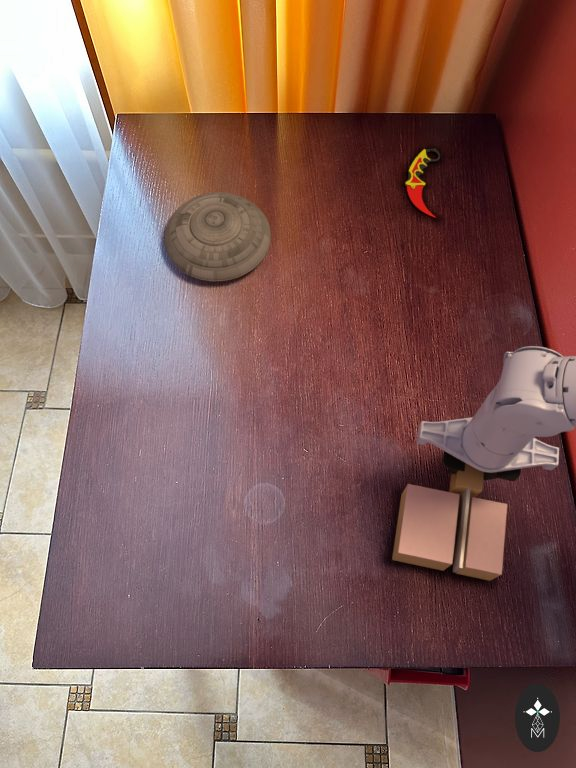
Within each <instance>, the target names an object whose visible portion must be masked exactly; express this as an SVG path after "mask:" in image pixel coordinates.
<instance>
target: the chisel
mask: <svg viewBox="0 0 576 768" xmlns="http://www.w3.org/2000/svg"><path fill="white" fill-rule="evenodd" d="M483 478H484V472H483V471H480V470H478V469H475V468H474V467H472V466H470V465H468V464H467V463H465V471H458V472H457V473H456V474H450V482H449V490H448V492H450V493H455V494H460V499H459V508H458V517H457V527H456V536H455V545H454V554H453V564H452V573H455V574H456V573H457V572H458V571H460V570H461V569H462V568H463V560H464V550H465V540H466V531H467V521H468V511H469V501H470V499H471V498H472V497H475V498H477V497H478V496H479V495H480V494H481V493H482V492H483V489H484V488H483V487H484V480H483Z"/></svg>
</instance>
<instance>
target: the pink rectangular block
mask: <svg viewBox="0 0 576 768" xmlns="http://www.w3.org/2000/svg"><path fill="white" fill-rule="evenodd" d="M460 499H461V496H460V494H455V493H450V492H449V491H446V490H445V491H444V490H439V489H435V488H431V487H425V486H421V485H416V484H411V483H407V485H406V486H405V488H404V490H402V492H401V496H400V502H399V509H398V516H397V523H396V530H395V537H394V542H393V543H394V544H393V551H392V559H391V560H392V561H396V562H400V563H405V564H410V565H415V566H419V567H424V568H427V569H433V570H438V571H441V572H442V571H445V570H446V569H448V568H449V567H450V566H453V564H454V555H455V545H456V536H457V527H458V518H459V508H460Z"/></svg>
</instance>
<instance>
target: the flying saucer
mask: <svg viewBox="0 0 576 768" xmlns="http://www.w3.org/2000/svg"><path fill="white" fill-rule="evenodd" d="M270 225H271V224H270V223H269V220H268V218H267V216H266V215H265V213H264V212H263V211H262V210H261V209H260V207H259V206H257V205H256V204H255V203H254V202H253V201H251V200H249V199H247V198H245V197H243V196H241V195H238V194H234V193H230V192H224V191H223V192H222V191H215V192H208V193H203V194H200V195H196V196H195V197H192V198H190V199H188V200H186V201H185V202H183V203H182V204H181V205H180V206H178V208H177V209H176V210H174V212H173V213H172V214H171V216H170V217H169V219H168V221H167V223H166V226H165V228H164V234H163V243H164V249H165V252H166V255H167V256H168V258H169V260H170V261H171V263H172V264H173V265H174V266H175V267H176V268H177V269H178V270H180V271H181V272H182V273H184V274H186V275H187V276H190V277H192V278H194V279H197V280H201V281H207V282H225V281H230V280H235V279H238V278H240V277H242V276H244V275H246V274H248V273H250V272H251V271H253V270H254V269H255V268H256V267H257V266H258V265H259V264H261V262H262V261H263V260H264V259H265V257H266V255H267V254H268V251H269V249H270V247H271V242H272V231H271V226H270Z"/></svg>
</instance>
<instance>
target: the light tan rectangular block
mask: <svg viewBox="0 0 576 768" xmlns="http://www.w3.org/2000/svg"><path fill="white" fill-rule="evenodd" d="M507 513H508V503H504V502H500V501H495V500H490V499H484V498H479V497H472V498H470V501H469V511H468V521H467V531H466V540H465V550H464V560H463V568H462V569H461V570H460V571H458V572H457V573H455V574H456V575H462V576H466V577H471V578H475V579H480V580H484V581H492V580H494V579H496V578H497V577H500V576H502V575H503V564H504V552H505V551H504V550H505V539H506V528H507V527H506V526H507V515H508V514H507Z"/></svg>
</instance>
